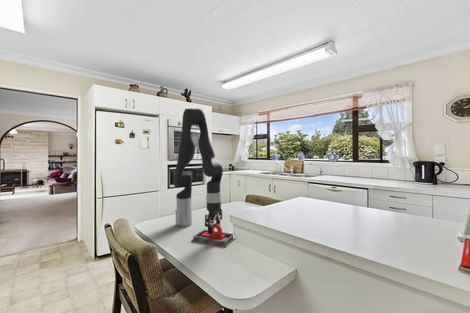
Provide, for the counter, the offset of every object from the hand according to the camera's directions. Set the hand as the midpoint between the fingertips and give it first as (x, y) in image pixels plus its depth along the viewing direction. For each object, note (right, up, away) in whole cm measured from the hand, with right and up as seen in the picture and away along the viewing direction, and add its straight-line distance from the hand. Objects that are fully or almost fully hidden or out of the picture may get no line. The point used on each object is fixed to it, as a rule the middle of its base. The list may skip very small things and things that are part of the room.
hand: (214, 231), depth 117 cm
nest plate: (0, -4, 0) cm, 4 cm away
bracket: (-1, -4, +2) cm, 4 cm away
